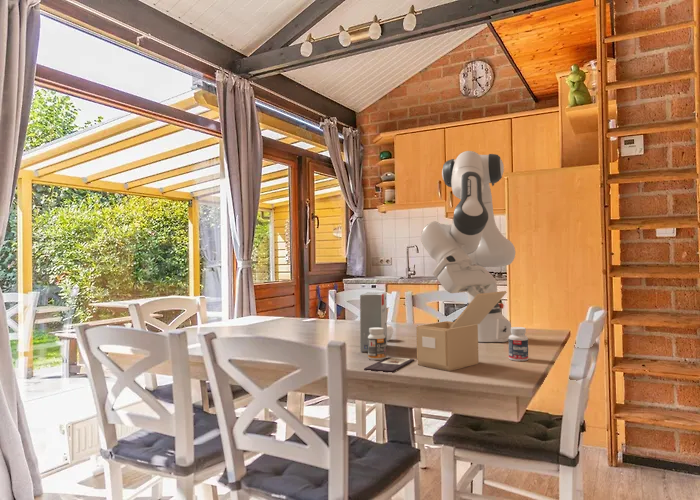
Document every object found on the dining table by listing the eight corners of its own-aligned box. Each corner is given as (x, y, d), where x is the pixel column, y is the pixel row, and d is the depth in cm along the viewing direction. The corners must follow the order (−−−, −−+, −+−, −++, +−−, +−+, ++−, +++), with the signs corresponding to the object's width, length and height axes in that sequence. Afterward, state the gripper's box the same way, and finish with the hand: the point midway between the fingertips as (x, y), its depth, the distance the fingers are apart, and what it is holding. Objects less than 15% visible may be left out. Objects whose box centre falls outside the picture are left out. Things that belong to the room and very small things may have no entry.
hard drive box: (381, 352, 182) (380, 294, 182) (359, 352, 183) (358, 295, 183) (387, 345, 197) (386, 291, 197) (367, 344, 198) (366, 291, 198)
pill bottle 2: (512, 361, 163) (511, 329, 163) (506, 357, 169) (505, 326, 169) (531, 361, 163) (530, 329, 163) (524, 357, 169) (524, 326, 169)
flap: (478, 322, 160) (505, 290, 153) (479, 323, 160) (506, 292, 153) (449, 327, 151) (477, 293, 144) (450, 328, 151) (478, 295, 144)
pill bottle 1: (380, 361, 168) (380, 329, 168) (365, 359, 170) (364, 328, 171) (388, 358, 172) (388, 327, 172) (373, 356, 175) (372, 326, 175)
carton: (447, 357, 170) (446, 320, 171) (479, 363, 161) (478, 324, 161) (415, 365, 161) (414, 325, 161) (447, 371, 151) (447, 329, 151)
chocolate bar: (364, 368, 155) (388, 357, 171) (364, 371, 155) (388, 360, 171) (392, 370, 151) (414, 359, 167) (392, 374, 151) (414, 362, 167)
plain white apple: (373, 341, 205) (373, 321, 205) (378, 338, 212) (377, 318, 212) (391, 342, 203) (391, 321, 203) (395, 339, 210) (394, 319, 210)
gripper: (471, 271, 166) (498, 305, 158) (428, 273, 153) (455, 310, 145) (483, 257, 162) (511, 290, 155) (440, 258, 149) (468, 294, 142)
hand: (484, 300), depth 150 cm, fingers closed, pressing on flap
